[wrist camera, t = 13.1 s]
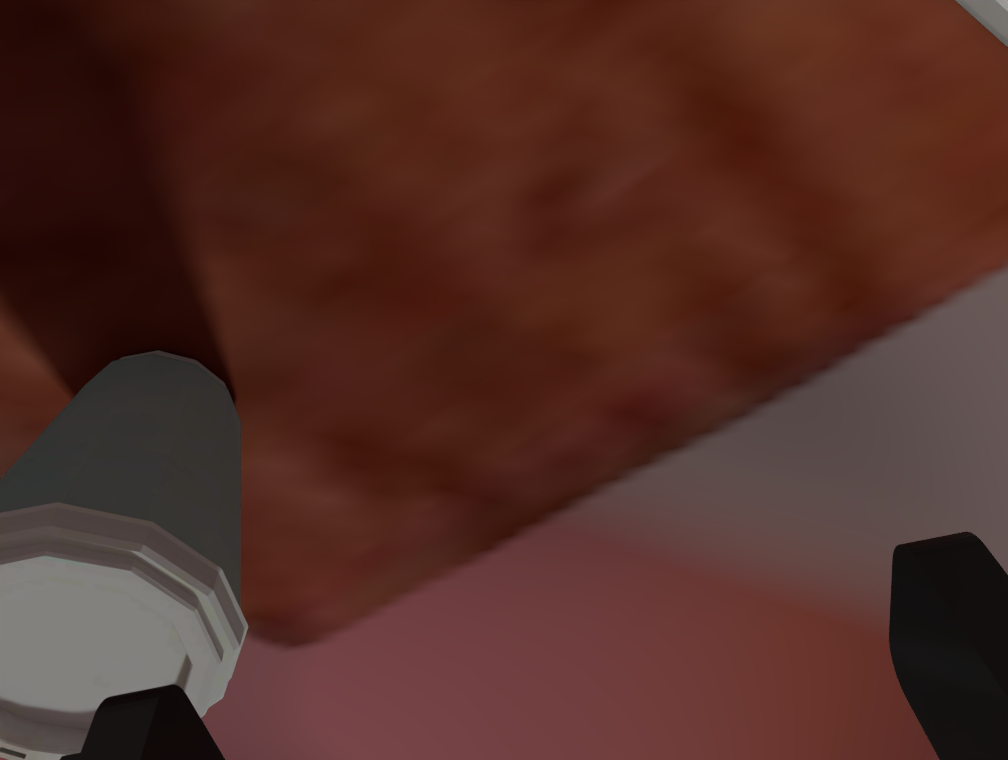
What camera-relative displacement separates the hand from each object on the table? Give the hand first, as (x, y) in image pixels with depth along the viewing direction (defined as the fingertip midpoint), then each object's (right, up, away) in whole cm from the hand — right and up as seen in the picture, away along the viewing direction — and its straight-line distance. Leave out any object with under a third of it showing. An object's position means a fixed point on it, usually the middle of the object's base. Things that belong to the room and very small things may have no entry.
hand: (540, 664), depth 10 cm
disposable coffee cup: (-15, +2, +31) cm, 35 cm away
